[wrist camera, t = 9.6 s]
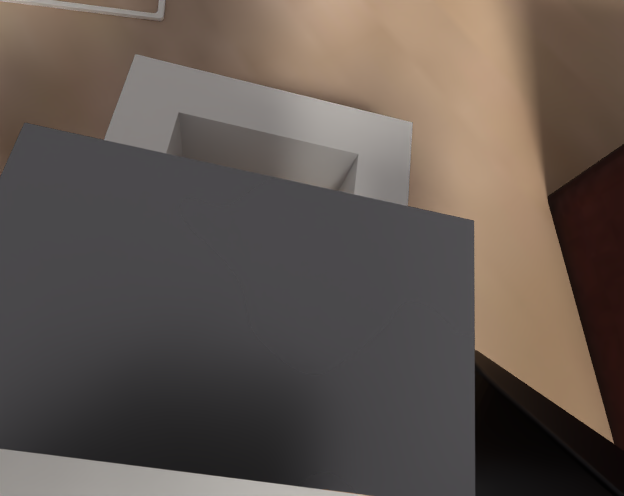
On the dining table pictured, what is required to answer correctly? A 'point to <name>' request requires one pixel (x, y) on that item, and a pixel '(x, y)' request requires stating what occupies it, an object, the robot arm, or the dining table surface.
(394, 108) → the dining table surface
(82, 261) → the graphite panel
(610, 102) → the dining table surface
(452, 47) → the dining table surface
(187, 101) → the frame
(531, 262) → the dining table surface
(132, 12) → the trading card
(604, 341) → the storage box
